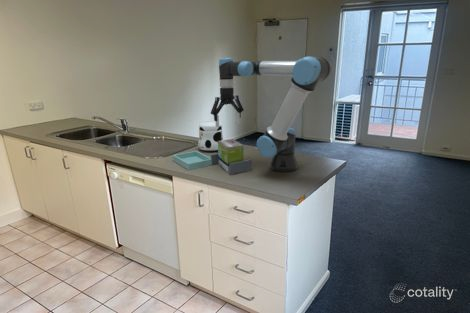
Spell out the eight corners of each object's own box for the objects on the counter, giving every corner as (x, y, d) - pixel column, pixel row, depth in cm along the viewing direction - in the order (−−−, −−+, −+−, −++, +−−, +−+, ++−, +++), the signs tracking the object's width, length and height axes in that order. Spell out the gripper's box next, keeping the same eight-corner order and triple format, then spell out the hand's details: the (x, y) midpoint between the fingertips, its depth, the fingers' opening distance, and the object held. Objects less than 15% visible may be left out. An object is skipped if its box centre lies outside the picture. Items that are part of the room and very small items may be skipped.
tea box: (217, 164, 189) (217, 140, 185) (233, 162, 193) (233, 138, 189) (227, 172, 176) (227, 146, 172) (244, 170, 180) (244, 144, 175)
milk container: (193, 149, 221) (192, 123, 216) (214, 144, 231) (214, 120, 226) (207, 154, 208) (206, 127, 202) (229, 150, 218) (228, 124, 212)
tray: (213, 164, 189) (213, 158, 188) (188, 170, 180) (188, 164, 179) (196, 156, 206) (196, 150, 204) (173, 160, 197) (173, 155, 196)
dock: (251, 169, 180) (251, 159, 178) (230, 175, 172) (230, 164, 171) (230, 160, 197) (230, 150, 195) (210, 164, 189) (210, 154, 187)
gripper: (241, 85, 186) (242, 121, 192) (203, 88, 174) (205, 127, 180) (249, 86, 180) (249, 123, 186) (209, 89, 168) (211, 129, 174)
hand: (227, 125), depth 183 cm, fingers open, 13 cm apart
